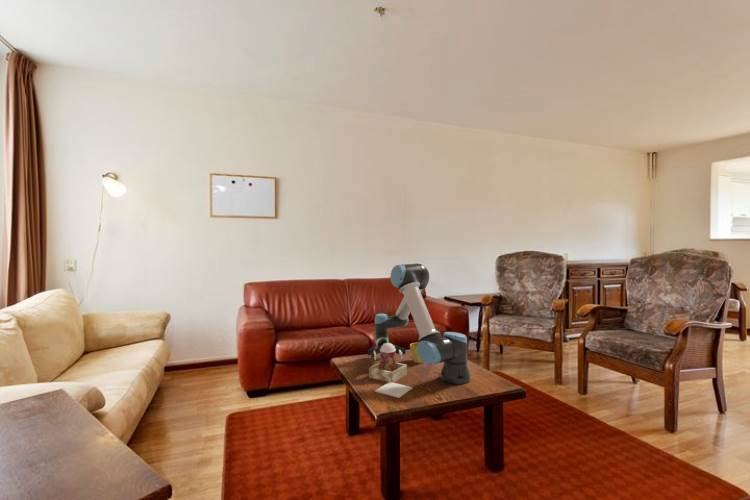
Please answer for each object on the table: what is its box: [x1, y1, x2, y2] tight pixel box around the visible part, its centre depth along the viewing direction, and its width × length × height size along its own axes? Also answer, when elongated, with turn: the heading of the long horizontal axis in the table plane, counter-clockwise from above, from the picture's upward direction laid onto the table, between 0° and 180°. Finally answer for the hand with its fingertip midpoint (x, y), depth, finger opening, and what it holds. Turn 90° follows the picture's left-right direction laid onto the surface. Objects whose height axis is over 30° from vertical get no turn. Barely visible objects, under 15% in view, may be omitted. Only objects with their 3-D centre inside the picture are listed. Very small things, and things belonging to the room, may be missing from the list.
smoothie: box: [379, 337, 397, 372], centre depth 193 cm, size 8×8×20 cm
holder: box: [368, 361, 408, 383], centre depth 193 cm, size 14×14×5 cm
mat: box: [374, 382, 414, 399], centre depth 175 cm, size 13×13×1 cm
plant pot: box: [409, 342, 424, 364], centre depth 216 cm, size 10×10×10 cm
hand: (388, 356), depth 190 cm, fingers open, 13 cm apart
